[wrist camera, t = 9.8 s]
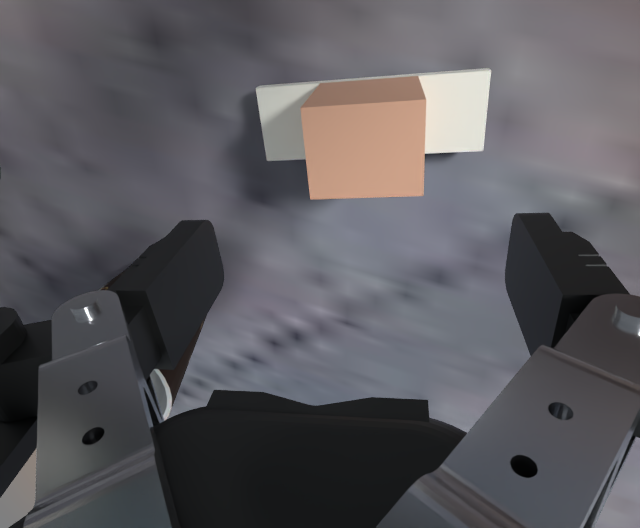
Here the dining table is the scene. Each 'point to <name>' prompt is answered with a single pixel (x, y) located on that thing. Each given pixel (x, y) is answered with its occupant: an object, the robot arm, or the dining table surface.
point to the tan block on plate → (373, 128)
